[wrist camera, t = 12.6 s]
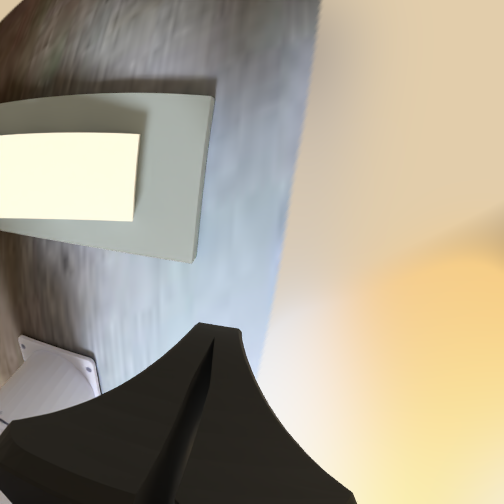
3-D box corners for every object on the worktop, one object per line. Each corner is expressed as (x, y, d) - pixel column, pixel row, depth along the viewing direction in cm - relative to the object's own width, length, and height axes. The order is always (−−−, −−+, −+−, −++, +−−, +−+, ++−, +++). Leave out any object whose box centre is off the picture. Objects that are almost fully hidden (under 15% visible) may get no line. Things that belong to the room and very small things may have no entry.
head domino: (132, 221, 16) (-4, 218, 13) (134, 214, 17) (7, 211, 14) (139, 134, 14) (-3, 135, 12) (140, 134, 16) (8, 134, 13)
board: (196, 256, 19) (192, 263, 18) (-42, 216, 19) (-51, 220, 18) (215, 99, 16) (211, 96, 15) (-41, 113, 16) (-50, 114, 15)
